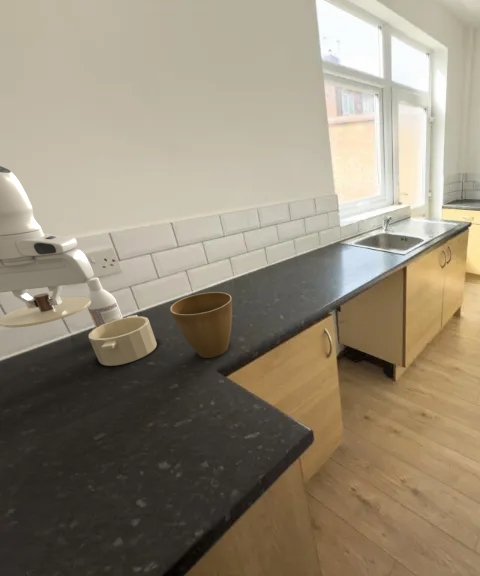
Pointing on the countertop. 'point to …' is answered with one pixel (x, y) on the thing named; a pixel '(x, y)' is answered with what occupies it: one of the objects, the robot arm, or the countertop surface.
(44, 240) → the robot arm
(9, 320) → the lid
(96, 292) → the bath foam
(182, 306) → the plant pot
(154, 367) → the countertop surface
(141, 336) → the pot
